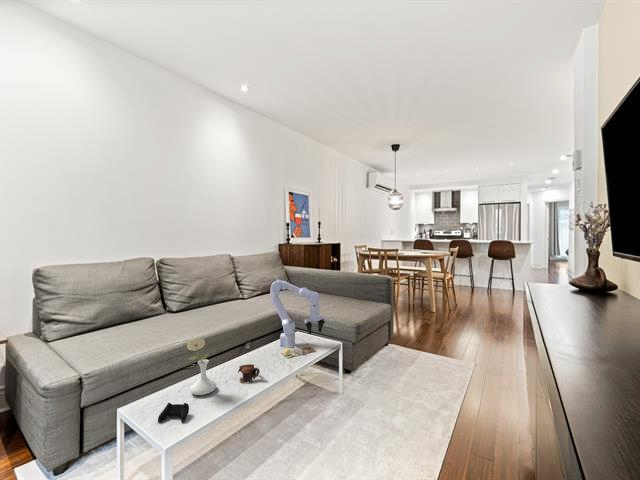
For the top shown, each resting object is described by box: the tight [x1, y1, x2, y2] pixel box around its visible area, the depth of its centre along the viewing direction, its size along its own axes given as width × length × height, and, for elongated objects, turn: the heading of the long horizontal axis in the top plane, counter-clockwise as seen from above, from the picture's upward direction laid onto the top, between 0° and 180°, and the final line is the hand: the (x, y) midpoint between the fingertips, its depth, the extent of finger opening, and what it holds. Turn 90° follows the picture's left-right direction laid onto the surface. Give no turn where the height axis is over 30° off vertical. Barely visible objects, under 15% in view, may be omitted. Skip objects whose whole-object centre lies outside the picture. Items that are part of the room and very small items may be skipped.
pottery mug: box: [237, 363, 261, 384], centre depth 153 cm, size 12×10×8 cm
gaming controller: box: [157, 402, 190, 423], centre depth 120 cm, size 11×4×7 cm
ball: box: [283, 348, 292, 356], centre depth 179 cm, size 4×4×4 cm
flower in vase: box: [186, 337, 217, 396], centre depth 140 cm, size 13×11×25 cm
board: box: [280, 345, 317, 360], centre depth 184 cm, size 20×9×4 cm, turn 124°
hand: (314, 332), depth 194 cm, fingers open, 7 cm apart
